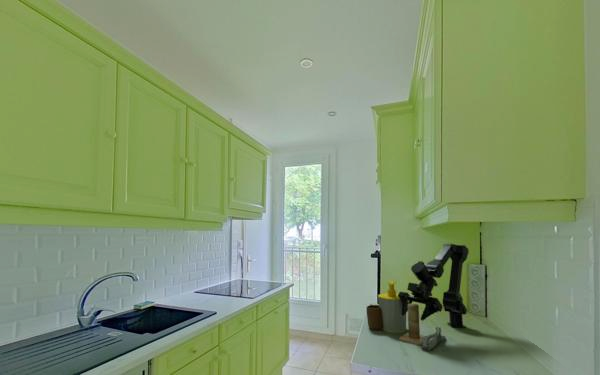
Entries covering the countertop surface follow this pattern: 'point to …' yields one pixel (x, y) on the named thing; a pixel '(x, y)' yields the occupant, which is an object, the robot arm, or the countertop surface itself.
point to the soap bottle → (392, 311)
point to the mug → (374, 317)
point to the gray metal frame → (433, 340)
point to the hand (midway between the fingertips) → (411, 317)
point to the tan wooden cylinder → (413, 321)
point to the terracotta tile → (411, 340)
